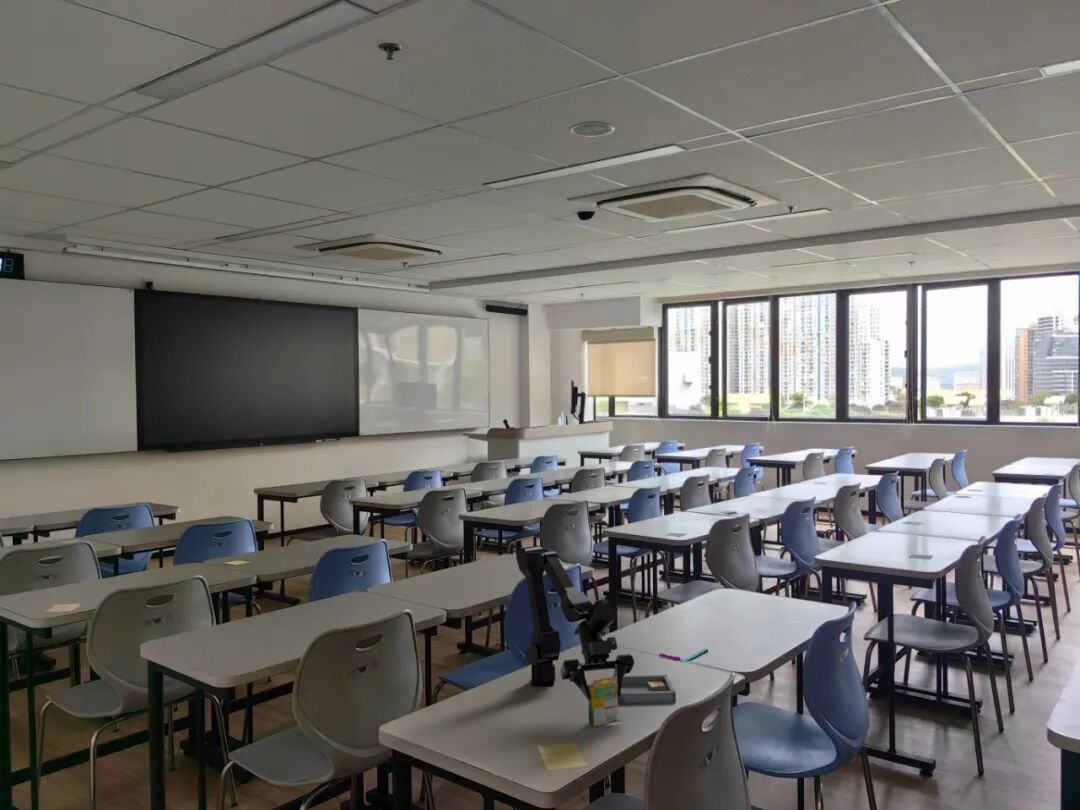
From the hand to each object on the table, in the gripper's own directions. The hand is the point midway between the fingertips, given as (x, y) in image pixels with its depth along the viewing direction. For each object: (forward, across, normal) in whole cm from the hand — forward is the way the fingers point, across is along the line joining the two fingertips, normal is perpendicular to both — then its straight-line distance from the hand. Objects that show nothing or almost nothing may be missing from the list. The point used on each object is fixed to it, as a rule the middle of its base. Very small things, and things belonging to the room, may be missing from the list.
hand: (604, 698), depth 200 cm
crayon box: (+4, 0, +6) cm, 7 cm away
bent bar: (-24, +35, +35) cm, 56 cm away
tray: (-7, +16, +16) cm, 24 cm away
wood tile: (-9, +21, +18) cm, 29 cm away
